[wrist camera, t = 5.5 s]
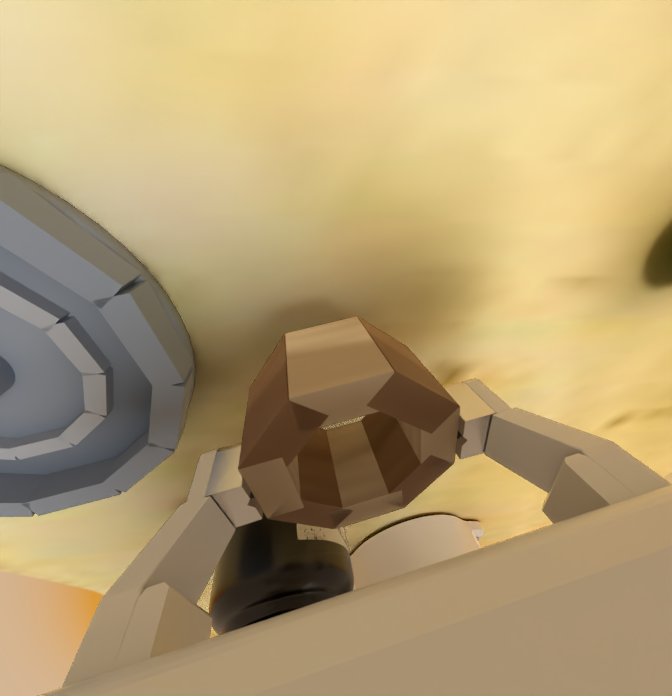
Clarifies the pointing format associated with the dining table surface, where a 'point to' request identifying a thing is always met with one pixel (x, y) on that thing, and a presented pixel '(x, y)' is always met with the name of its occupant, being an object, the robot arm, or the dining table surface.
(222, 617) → the ink bottle
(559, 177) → the dining table surface
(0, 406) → the groove tray
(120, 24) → the dining table surface
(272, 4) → the dining table surface
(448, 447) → the bead loop
